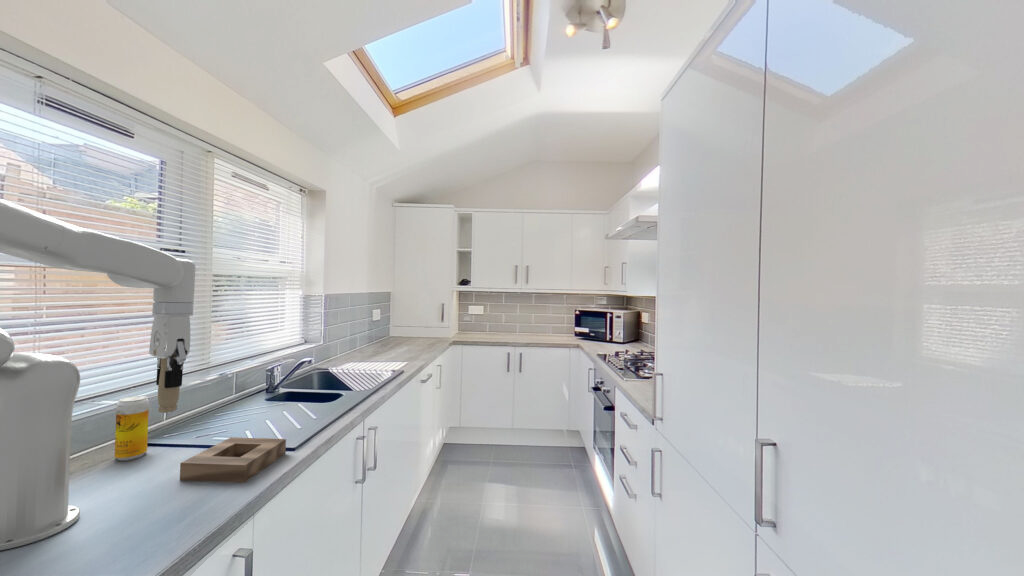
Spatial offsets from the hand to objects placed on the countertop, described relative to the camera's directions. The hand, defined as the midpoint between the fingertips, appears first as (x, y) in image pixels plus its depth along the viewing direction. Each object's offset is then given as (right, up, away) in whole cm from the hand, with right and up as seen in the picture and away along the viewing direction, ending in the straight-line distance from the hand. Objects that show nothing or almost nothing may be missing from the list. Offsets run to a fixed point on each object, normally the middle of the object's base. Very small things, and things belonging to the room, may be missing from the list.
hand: (169, 385), depth 95 cm
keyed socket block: (+14, -21, +3) cm, 26 cm away
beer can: (-16, -20, +7) cm, 27 cm away
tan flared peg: (0, -6, 0) cm, 6 cm away
